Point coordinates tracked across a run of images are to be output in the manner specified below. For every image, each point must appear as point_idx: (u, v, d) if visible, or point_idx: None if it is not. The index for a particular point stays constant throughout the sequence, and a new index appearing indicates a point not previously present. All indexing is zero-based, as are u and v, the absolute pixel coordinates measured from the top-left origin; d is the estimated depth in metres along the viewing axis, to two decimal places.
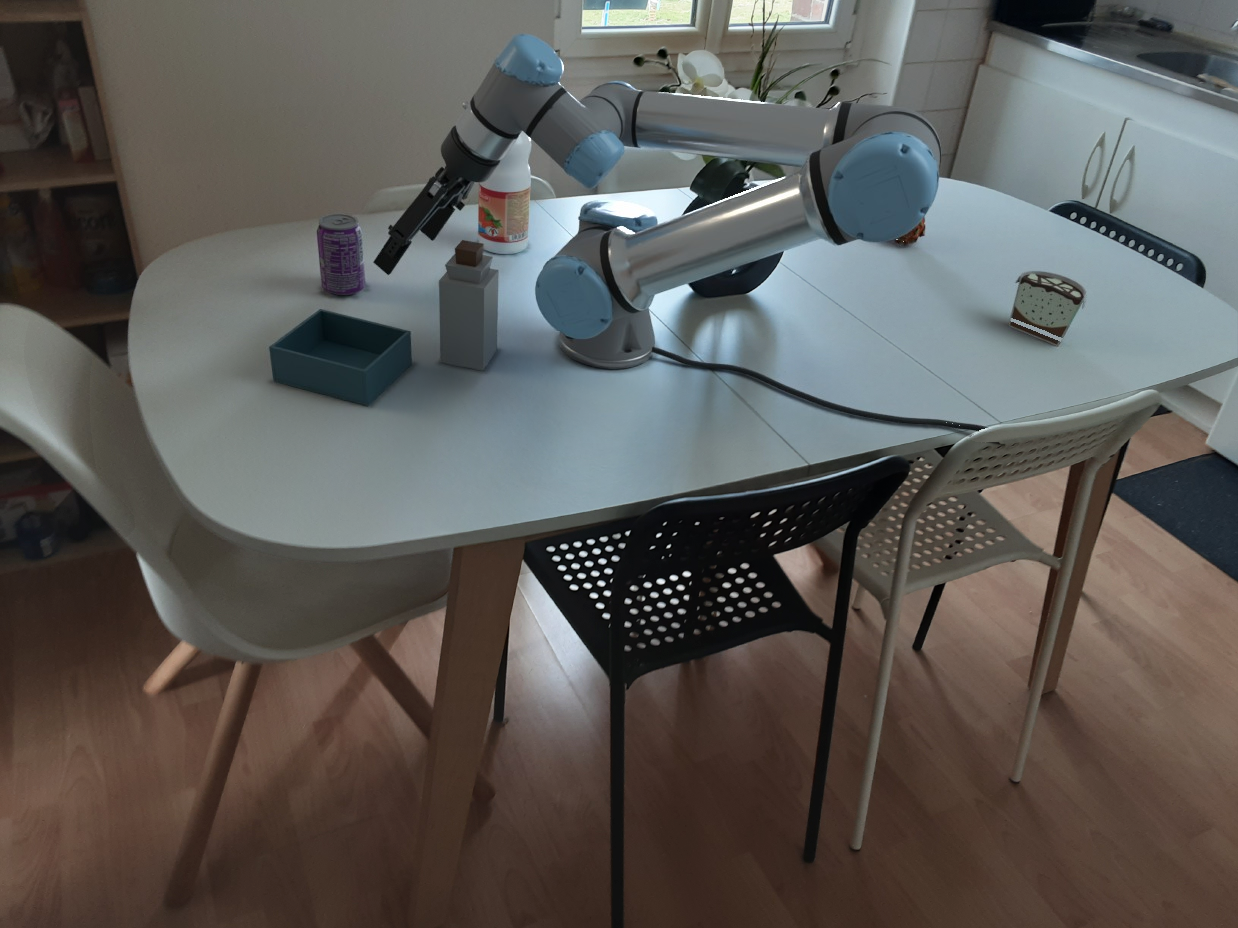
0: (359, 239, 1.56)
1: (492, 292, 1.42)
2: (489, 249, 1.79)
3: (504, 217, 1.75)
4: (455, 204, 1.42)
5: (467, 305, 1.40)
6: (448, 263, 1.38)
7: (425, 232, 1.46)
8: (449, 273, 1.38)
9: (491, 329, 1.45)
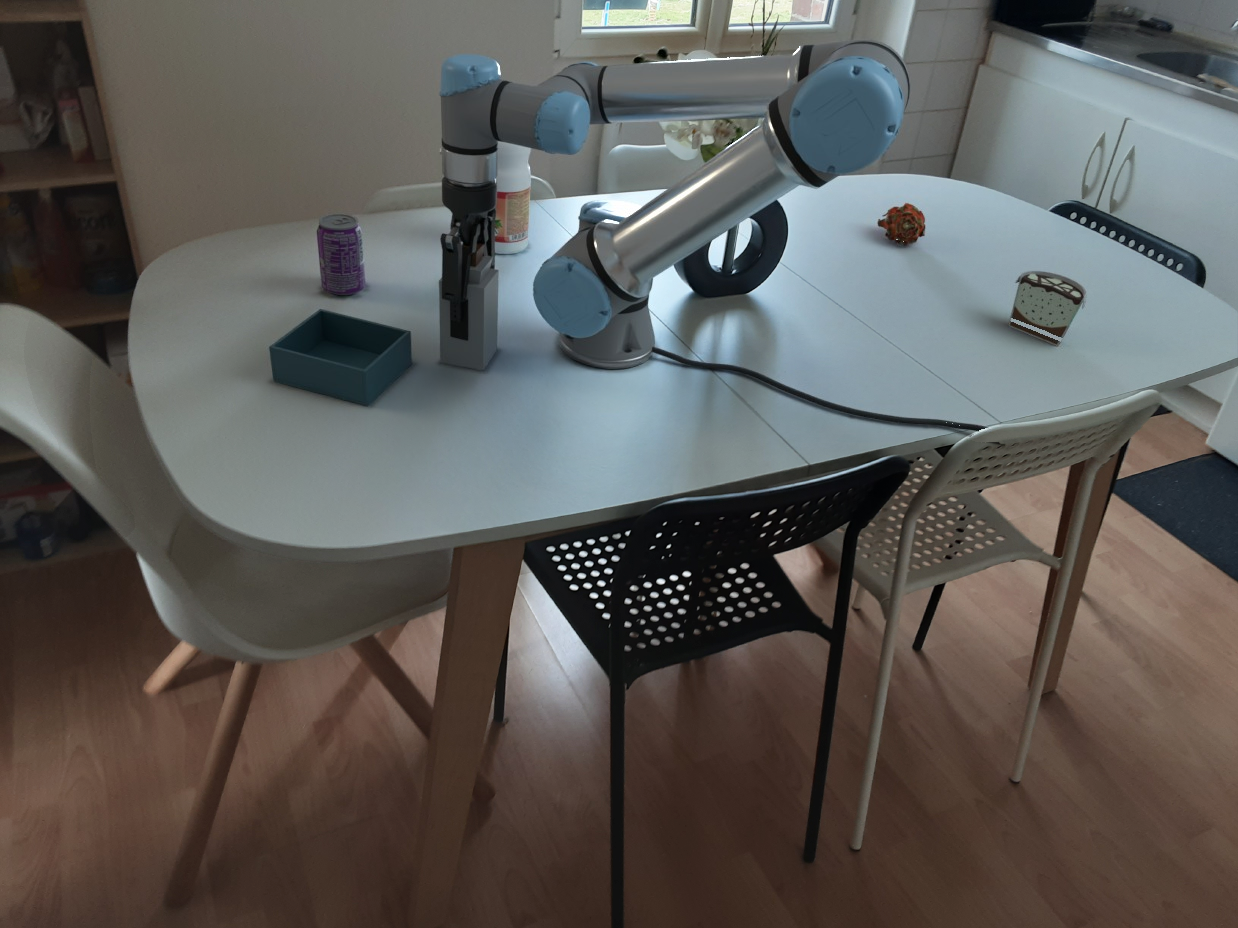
0: (359, 239, 1.56)
1: (492, 292, 1.42)
2: None
3: (504, 217, 1.75)
4: None
5: None
6: None
7: None
8: None
9: (491, 329, 1.45)
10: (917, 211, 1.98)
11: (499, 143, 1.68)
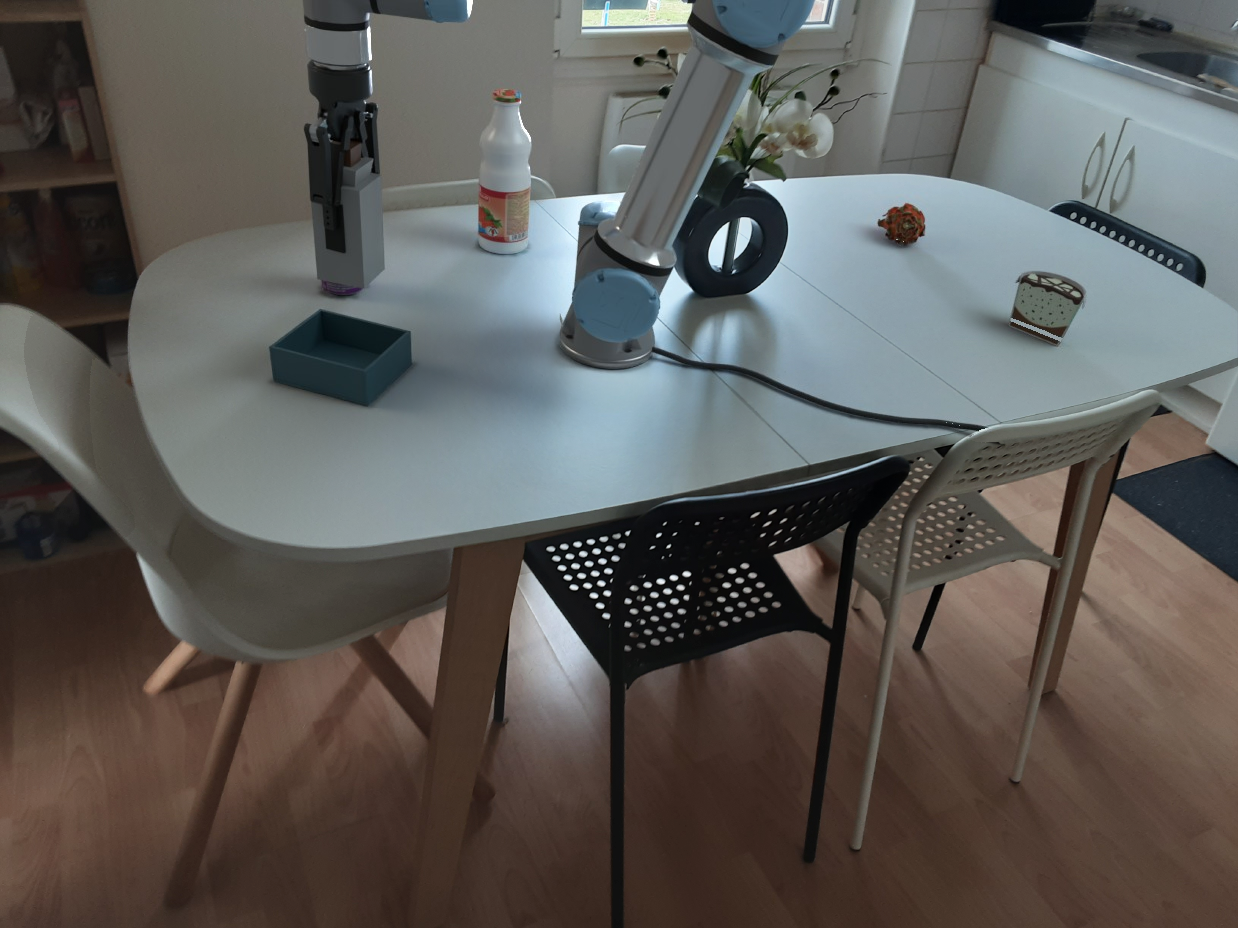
0: None
1: (372, 199, 1.27)
2: (489, 249, 1.79)
3: (504, 217, 1.75)
4: None
5: None
6: None
7: None
8: None
9: (374, 242, 1.30)
10: (917, 211, 1.98)
11: (499, 143, 1.68)
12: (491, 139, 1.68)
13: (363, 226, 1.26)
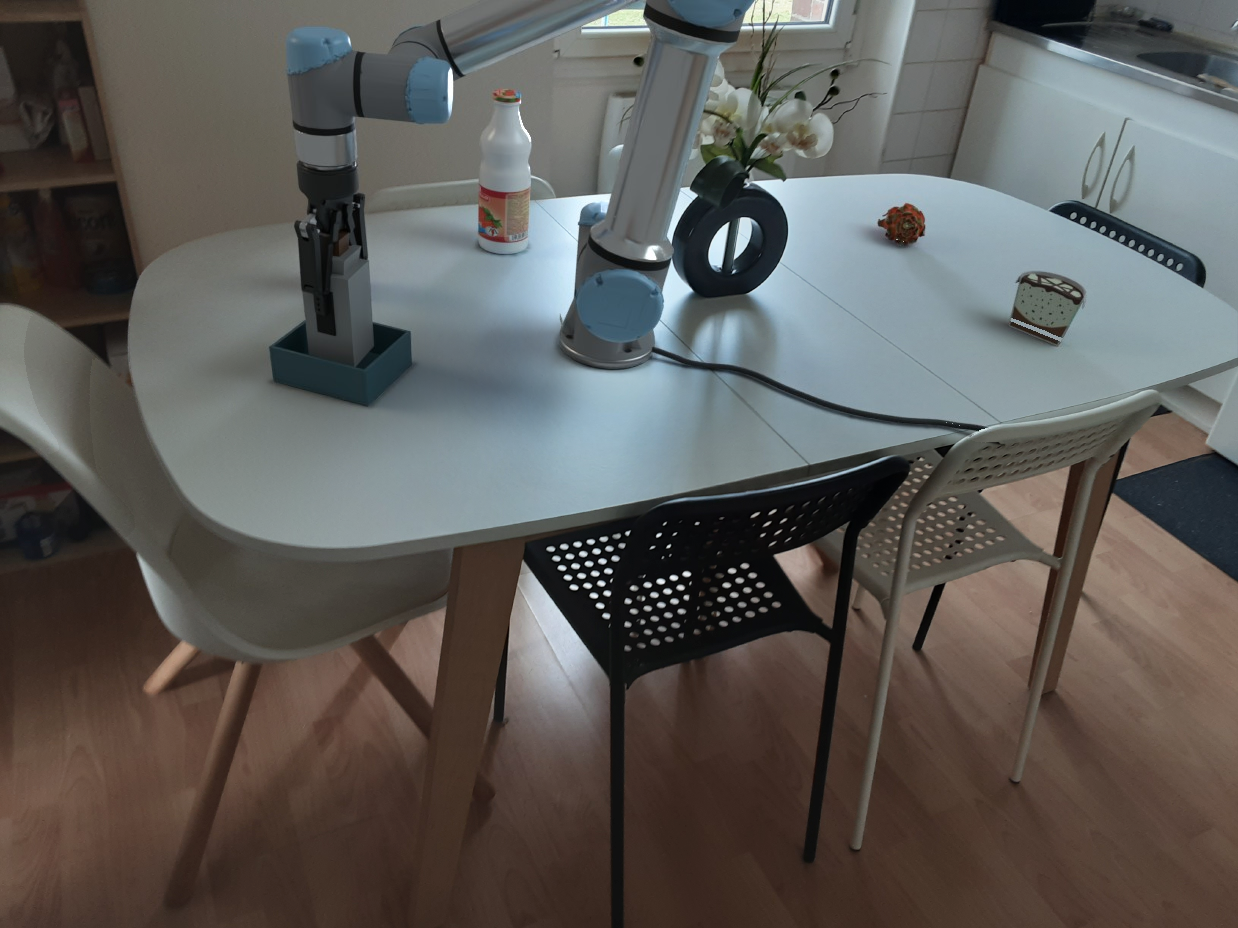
0: None
1: (360, 284, 1.33)
2: (489, 249, 1.79)
3: (504, 217, 1.75)
4: None
5: None
6: None
7: None
8: None
9: (363, 323, 1.36)
10: (917, 211, 1.98)
11: (499, 143, 1.68)
12: (491, 139, 1.68)
13: (352, 311, 1.32)
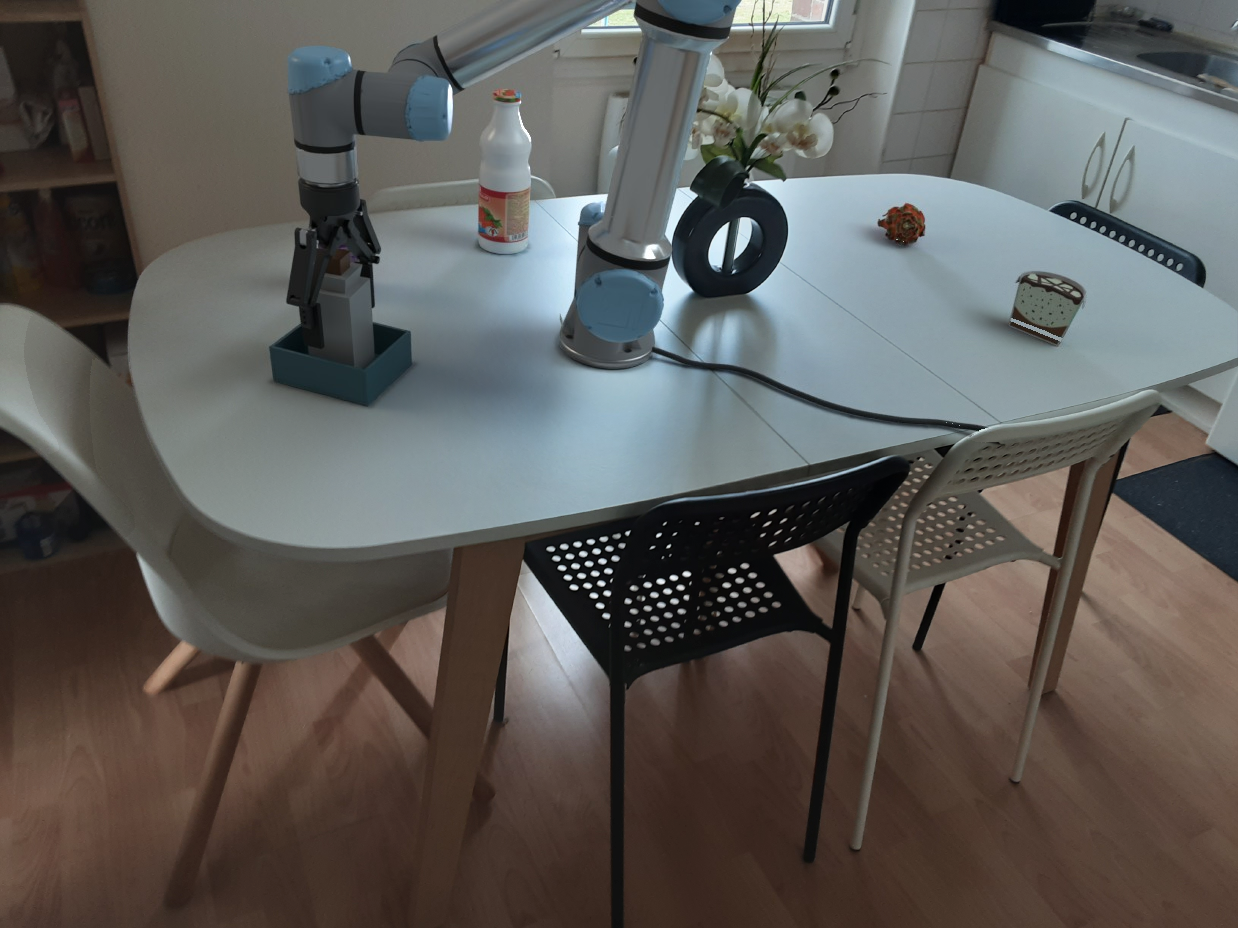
0: None
1: (361, 302, 1.34)
2: (489, 249, 1.79)
3: (504, 217, 1.75)
4: (368, 259, 1.38)
5: (333, 316, 1.32)
6: None
7: None
8: None
9: (364, 340, 1.38)
10: (917, 211, 1.98)
11: (499, 143, 1.68)
12: (491, 139, 1.68)
13: (353, 328, 1.33)
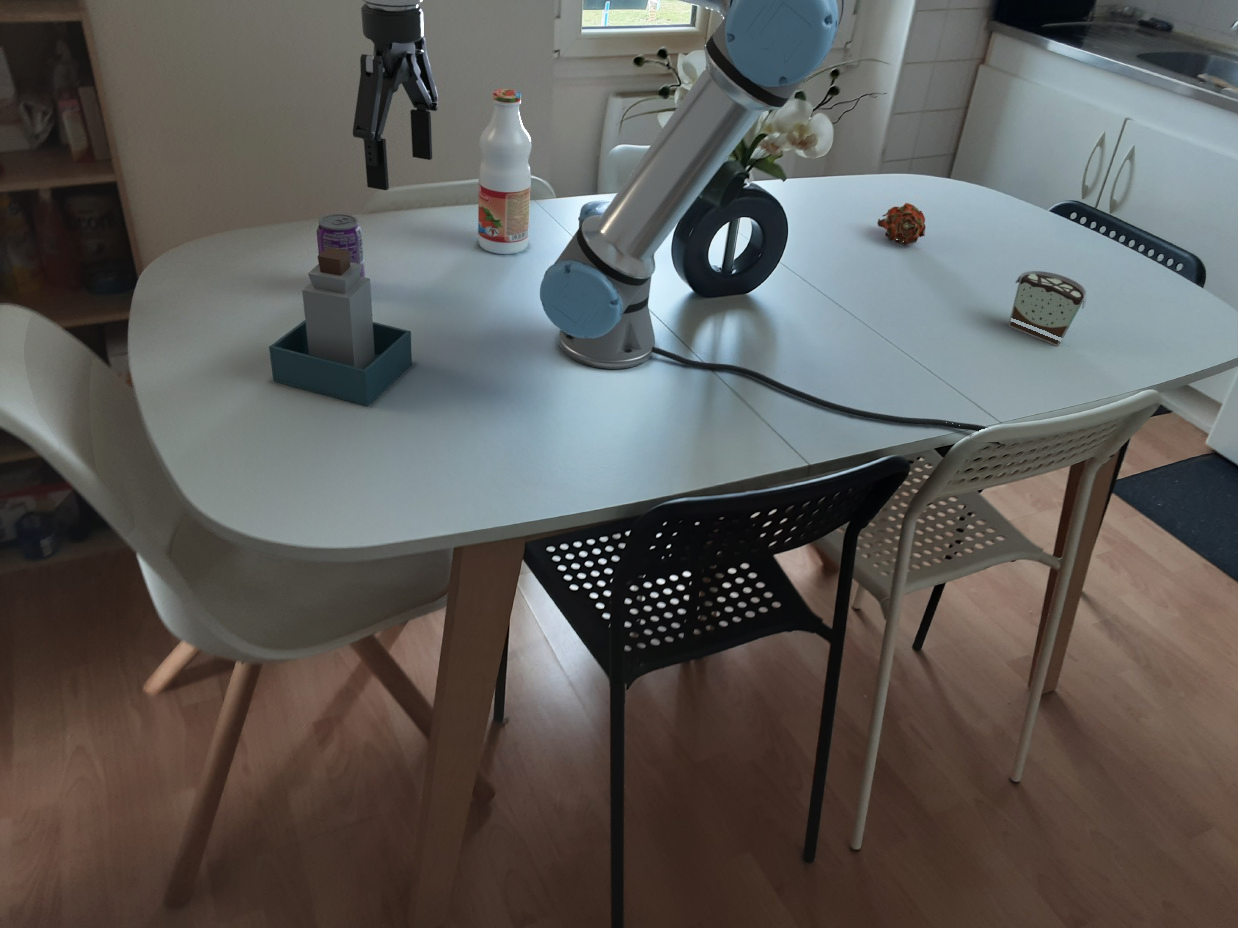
0: (359, 239, 1.56)
1: (361, 302, 1.34)
2: (489, 249, 1.79)
3: (504, 217, 1.75)
4: (426, 106, 1.34)
5: (333, 316, 1.32)
6: (311, 271, 1.30)
7: (419, 155, 1.38)
8: (313, 282, 1.31)
9: (364, 340, 1.38)
10: (917, 211, 1.98)
11: (499, 143, 1.68)
12: (491, 139, 1.68)
13: (353, 328, 1.33)
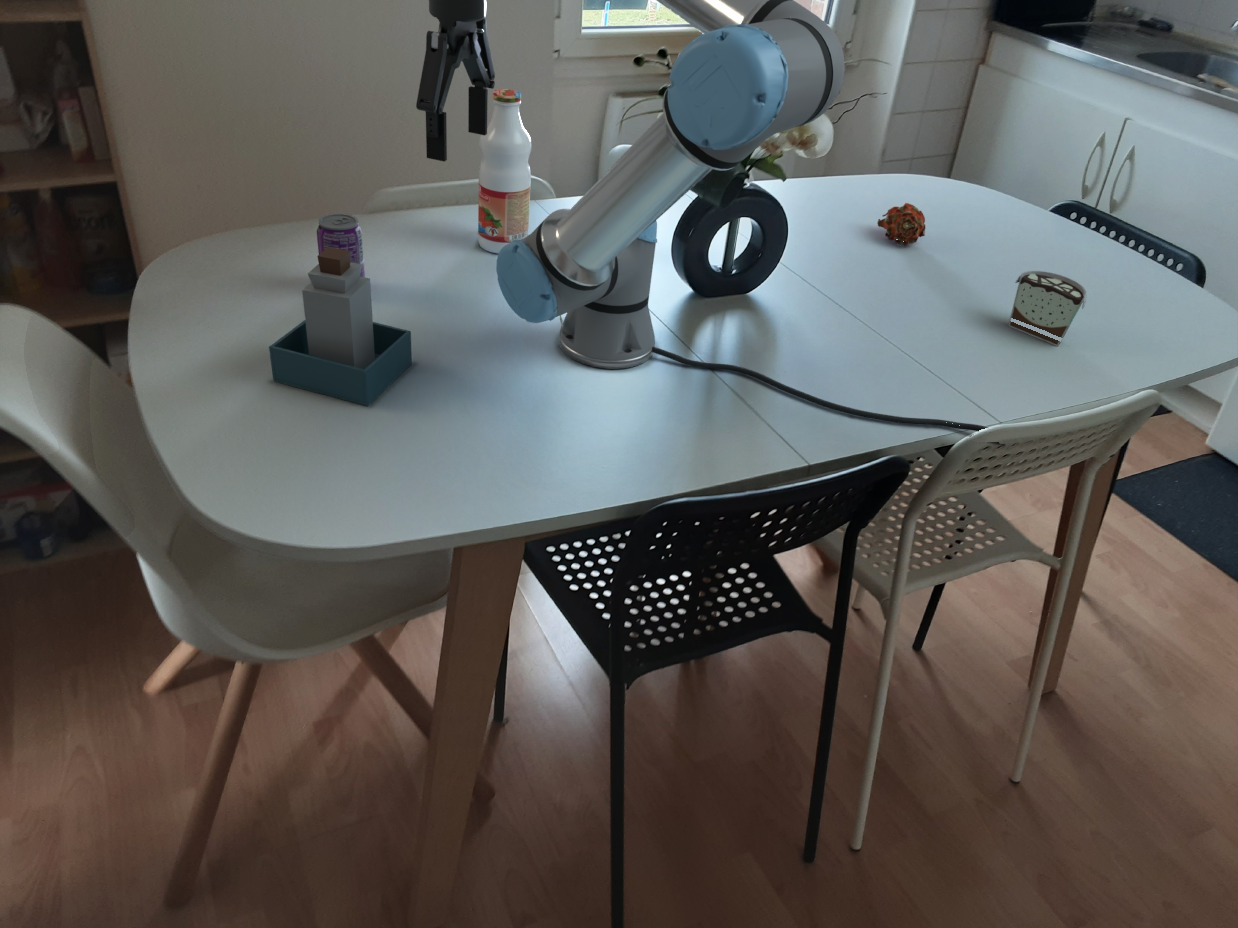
0: (359, 239, 1.56)
1: (361, 302, 1.34)
2: (489, 249, 1.79)
3: (504, 217, 1.75)
4: (484, 83, 1.41)
5: (333, 316, 1.32)
6: (311, 271, 1.30)
7: (475, 131, 1.45)
8: (313, 282, 1.31)
9: (364, 340, 1.38)
10: (917, 211, 1.98)
11: (499, 143, 1.68)
12: (491, 139, 1.68)
13: (353, 328, 1.33)
